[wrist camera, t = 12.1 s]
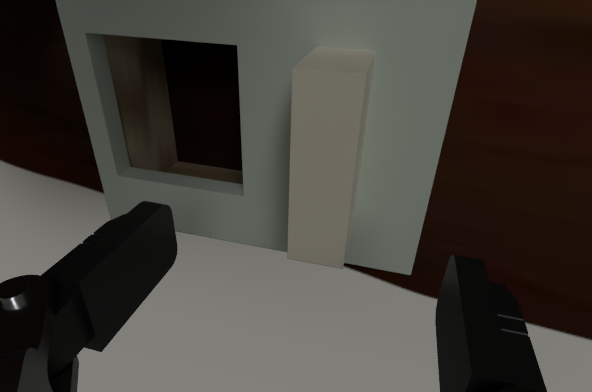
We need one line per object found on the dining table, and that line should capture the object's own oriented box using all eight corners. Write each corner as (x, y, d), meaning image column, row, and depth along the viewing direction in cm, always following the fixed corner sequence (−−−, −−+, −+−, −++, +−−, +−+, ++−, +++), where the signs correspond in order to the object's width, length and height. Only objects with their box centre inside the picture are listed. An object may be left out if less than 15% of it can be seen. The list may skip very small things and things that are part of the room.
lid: (63, -48, 18) (-48, -53, 14) (479, -33, 14) (509, -32, 10) (123, 209, 25) (62, 259, 21) (410, 260, 22) (410, 334, 17)
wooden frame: (134, -45, 23) (63, -48, 18) (463, -33, 19) (479, -33, 14) (167, 171, 30) (123, 209, 25) (410, 209, 26) (410, 260, 22)
